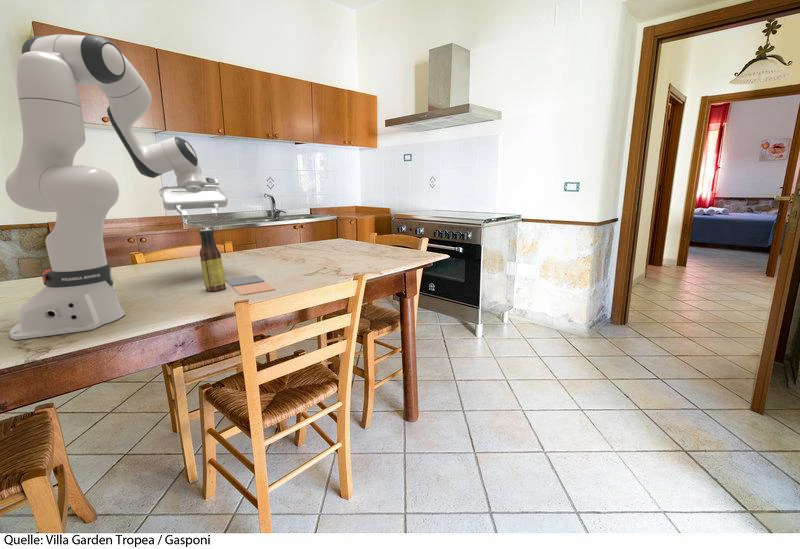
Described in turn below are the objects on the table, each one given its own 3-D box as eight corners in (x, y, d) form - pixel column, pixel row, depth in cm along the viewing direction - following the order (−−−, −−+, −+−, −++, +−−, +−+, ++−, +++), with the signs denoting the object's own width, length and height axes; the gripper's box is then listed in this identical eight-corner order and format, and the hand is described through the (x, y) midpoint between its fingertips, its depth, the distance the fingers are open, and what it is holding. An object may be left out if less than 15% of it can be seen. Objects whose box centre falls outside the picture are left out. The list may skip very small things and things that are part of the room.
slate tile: (231, 288, 132) (231, 285, 132) (224, 282, 141) (224, 279, 141) (264, 283, 138) (264, 280, 138) (255, 277, 147) (255, 274, 147)
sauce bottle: (229, 286, 132) (222, 228, 127) (219, 292, 126) (211, 231, 121) (211, 286, 133) (203, 228, 128) (200, 291, 127) (192, 231, 122)
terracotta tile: (240, 297, 122) (240, 294, 122) (233, 289, 131) (232, 286, 130) (275, 292, 128) (275, 289, 127) (266, 284, 137) (266, 281, 136)
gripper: (157, 180, 131) (164, 211, 126) (222, 179, 142) (231, 208, 137) (158, 193, 136) (165, 224, 130) (221, 191, 147) (230, 219, 142)
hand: (200, 216), depth 134 cm, fingers open, 8 cm apart
